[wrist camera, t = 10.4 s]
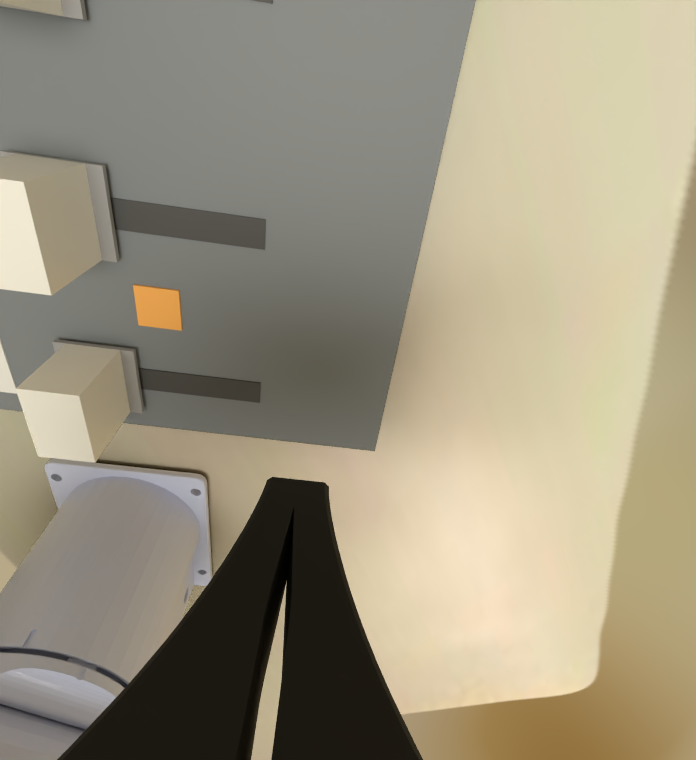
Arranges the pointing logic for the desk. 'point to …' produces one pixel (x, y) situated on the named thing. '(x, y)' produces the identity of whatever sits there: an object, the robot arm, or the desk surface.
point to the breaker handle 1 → (50, 7)
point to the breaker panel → (239, 198)
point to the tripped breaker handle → (52, 221)
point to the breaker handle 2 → (80, 399)
